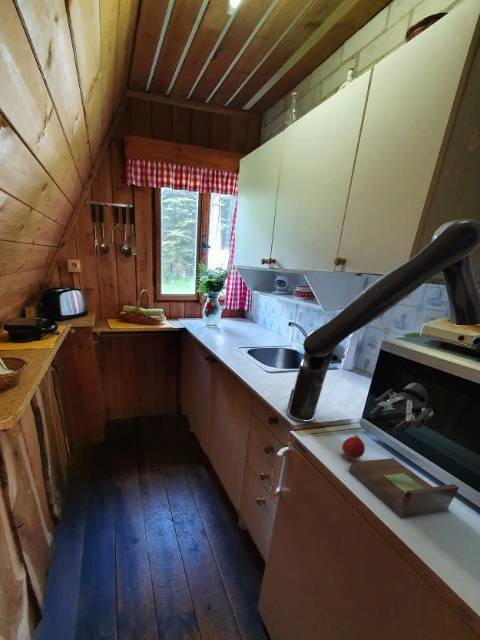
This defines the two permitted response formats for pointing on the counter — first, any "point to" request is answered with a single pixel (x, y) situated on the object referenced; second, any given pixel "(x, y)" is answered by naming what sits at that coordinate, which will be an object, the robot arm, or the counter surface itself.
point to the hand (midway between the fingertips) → (382, 423)
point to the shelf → (402, 487)
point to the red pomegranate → (353, 447)
